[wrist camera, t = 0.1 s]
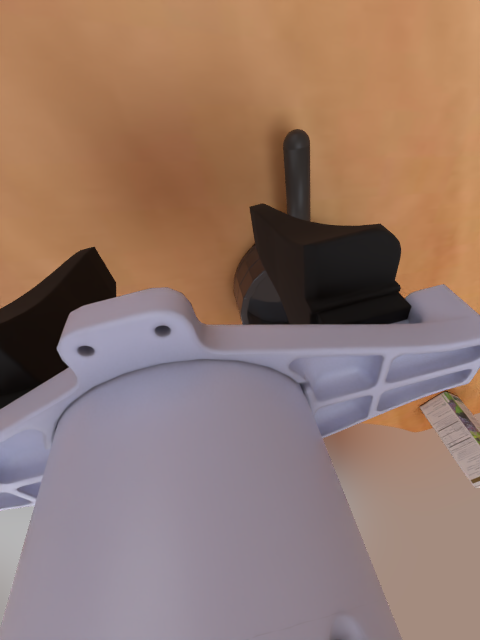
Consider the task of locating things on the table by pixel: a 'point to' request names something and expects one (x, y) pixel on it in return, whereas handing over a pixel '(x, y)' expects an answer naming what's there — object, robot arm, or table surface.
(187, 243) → the table surface
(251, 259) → the pan
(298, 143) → the pan handle
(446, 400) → the syrup box
